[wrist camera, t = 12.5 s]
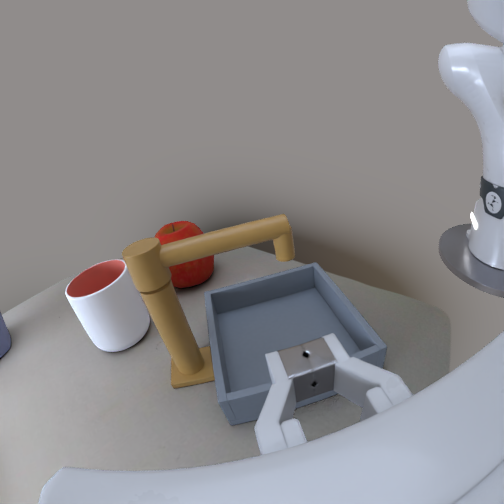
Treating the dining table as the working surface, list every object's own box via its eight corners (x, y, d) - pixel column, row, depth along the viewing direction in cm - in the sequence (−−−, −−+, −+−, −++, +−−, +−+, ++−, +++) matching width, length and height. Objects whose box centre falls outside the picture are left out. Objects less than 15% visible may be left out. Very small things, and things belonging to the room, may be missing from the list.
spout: (288, 247, 28) (282, 202, 26) (301, 262, 25) (295, 213, 23) (142, 285, 27) (126, 243, 25) (137, 305, 23) (117, 260, 21)
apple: (153, 281, 51) (133, 230, 46) (199, 257, 57) (185, 207, 52) (178, 303, 43) (156, 243, 38) (231, 272, 49) (216, 214, 44)
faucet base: (211, 349, 33) (180, 265, 27) (216, 380, 28) (179, 292, 23) (173, 358, 32) (135, 277, 27) (173, 388, 28) (126, 305, 22)
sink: (318, 288, 40) (316, 261, 38) (381, 375, 24) (387, 346, 22) (212, 317, 38) (204, 291, 36) (231, 426, 23) (218, 402, 21)
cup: (103, 319, 42) (78, 268, 38) (155, 307, 43) (133, 252, 39) (89, 360, 33) (55, 304, 29) (149, 350, 34) (118, 288, 30)
